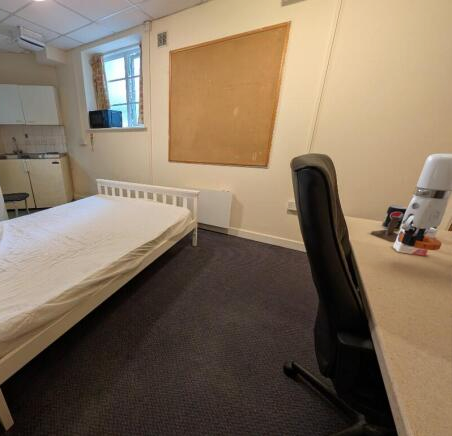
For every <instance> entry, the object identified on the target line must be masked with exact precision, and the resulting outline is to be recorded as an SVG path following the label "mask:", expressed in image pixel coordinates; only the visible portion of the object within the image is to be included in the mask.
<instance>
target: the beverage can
mask: <svg viewBox="0 0 452 436" xmlns="http://www.w3.org/2000/svg"><path fill="white" fill-rule="evenodd" d="M407 208H408V207H406V206H402V205H397V204H390V205H389V207H388V208H387V210H386V213H385V216H384V218H383V221H382V224H381V226H382V228H383V229H384V230H387V229H388V226H389V224H390V221H391V219H392V216H398V217H400V218H399V220H398V223H397V225H396V228H395V230H394V231H398V230H400V229H401V227H402V224H403V223H402V220H403V217H404V215H405V212H406V210H407Z"/></svg>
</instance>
